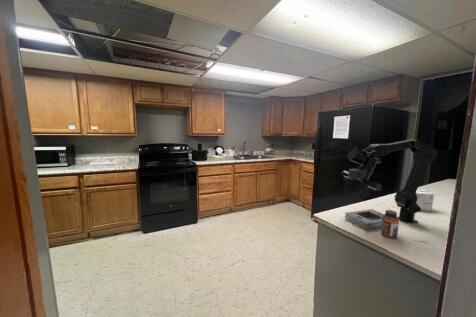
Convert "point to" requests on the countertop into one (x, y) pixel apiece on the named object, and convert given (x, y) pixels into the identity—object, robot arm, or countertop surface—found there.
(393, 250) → the countertop surface
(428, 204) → the light bulb box
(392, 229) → the supplement bottle
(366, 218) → the block
